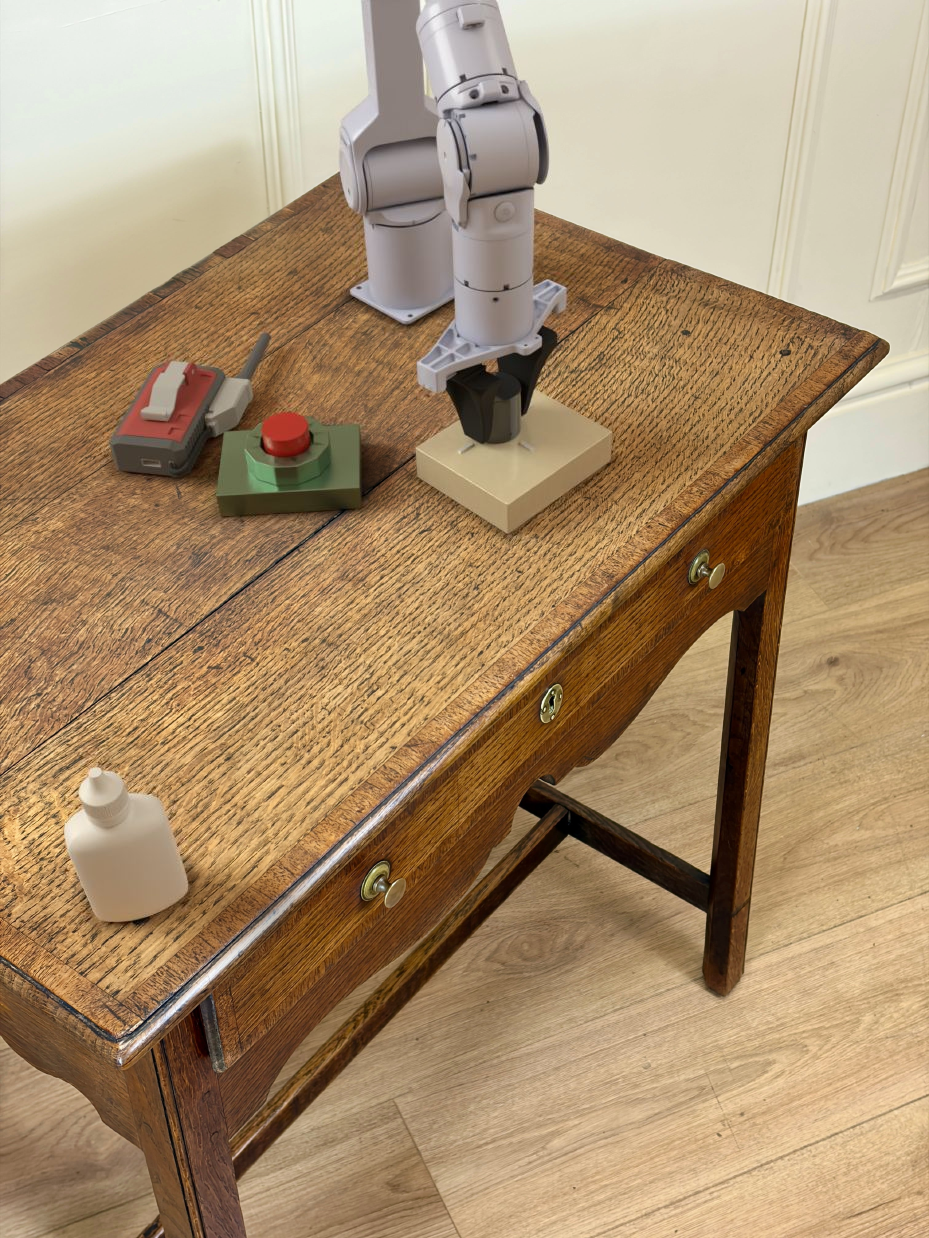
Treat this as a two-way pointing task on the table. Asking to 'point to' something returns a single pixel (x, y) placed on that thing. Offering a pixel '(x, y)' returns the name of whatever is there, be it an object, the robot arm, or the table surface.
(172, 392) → the walkie-talkie
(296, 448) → the button
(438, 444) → the panel
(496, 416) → the dial
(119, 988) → the table surface
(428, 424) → the table surface
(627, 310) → the table surface
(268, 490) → the housing
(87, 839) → the eye dropper bottle
